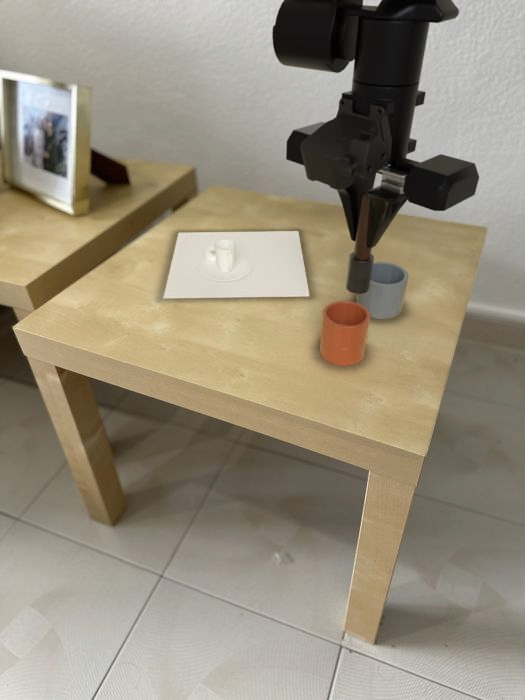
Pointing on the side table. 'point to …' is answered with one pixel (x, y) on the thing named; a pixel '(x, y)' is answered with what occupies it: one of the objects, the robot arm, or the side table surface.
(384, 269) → the cup
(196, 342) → the side table surface
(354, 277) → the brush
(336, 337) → the holder
